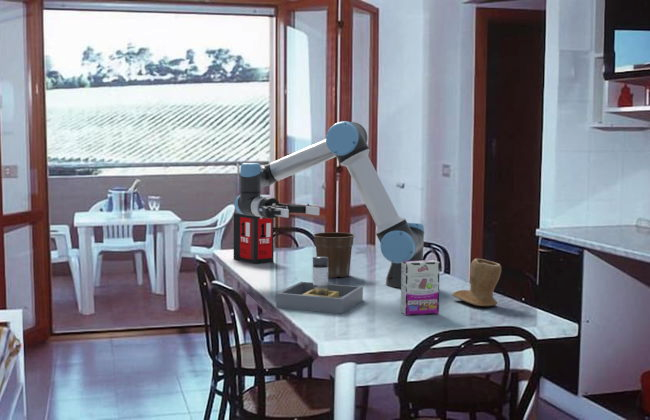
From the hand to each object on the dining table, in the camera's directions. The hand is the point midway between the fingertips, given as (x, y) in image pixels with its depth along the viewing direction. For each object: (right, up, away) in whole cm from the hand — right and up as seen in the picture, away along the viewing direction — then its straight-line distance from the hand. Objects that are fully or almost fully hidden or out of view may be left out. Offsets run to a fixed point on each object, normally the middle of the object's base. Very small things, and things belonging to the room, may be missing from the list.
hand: (303, 212), depth 278 cm
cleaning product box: (-24, -21, +72) cm, 79 cm away
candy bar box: (+37, -32, -25) cm, 54 cm away
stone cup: (+58, -30, -9) cm, 66 cm away
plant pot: (+10, -25, +39) cm, 48 cm away
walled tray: (+6, -30, -13) cm, 33 cm away
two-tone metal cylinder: (+6, -29, -13) cm, 32 cm away
